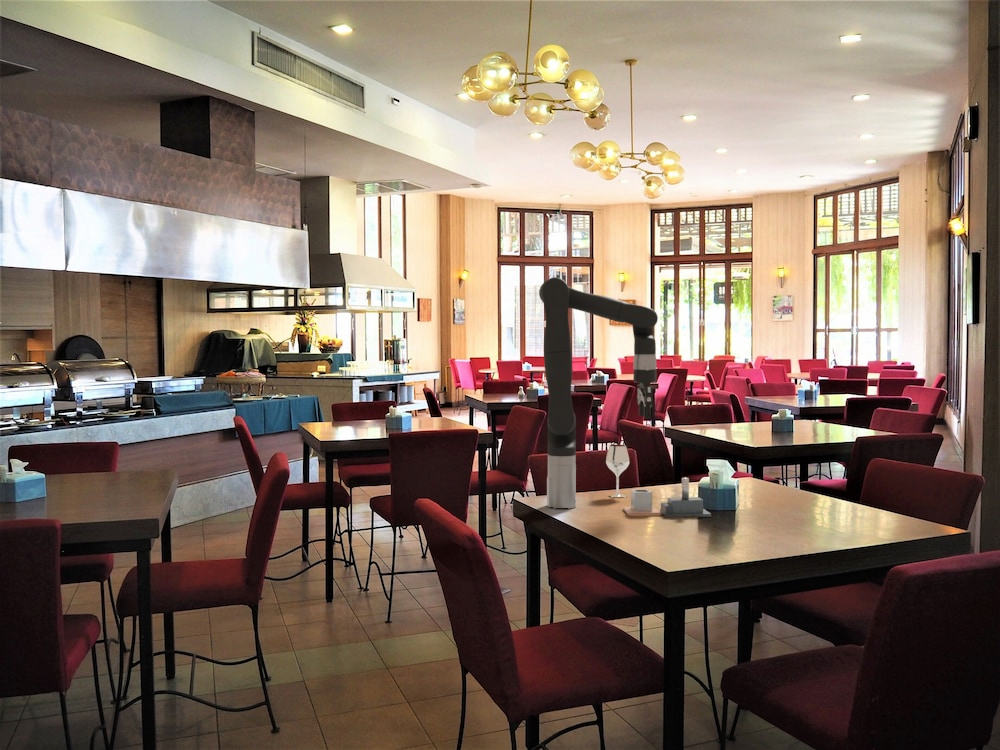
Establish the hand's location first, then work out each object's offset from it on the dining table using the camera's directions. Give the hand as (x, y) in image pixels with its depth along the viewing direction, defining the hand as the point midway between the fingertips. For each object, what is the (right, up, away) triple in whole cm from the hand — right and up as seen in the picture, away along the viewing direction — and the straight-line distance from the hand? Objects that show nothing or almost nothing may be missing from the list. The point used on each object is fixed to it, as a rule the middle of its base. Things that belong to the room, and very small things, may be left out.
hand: (644, 417), depth 282 cm
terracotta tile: (-3, -30, -12) cm, 32 cm away
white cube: (-3, -29, -12) cm, 31 cm away
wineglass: (-7, -29, +18) cm, 35 cm away
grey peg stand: (+10, -30, -15) cm, 35 cm away
